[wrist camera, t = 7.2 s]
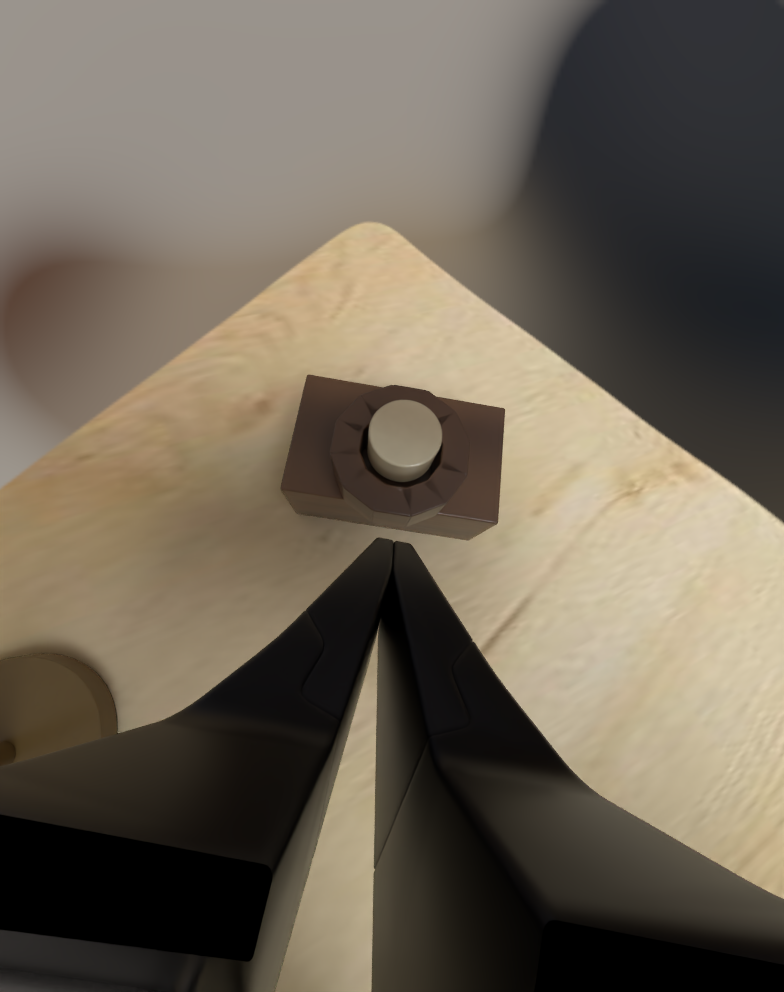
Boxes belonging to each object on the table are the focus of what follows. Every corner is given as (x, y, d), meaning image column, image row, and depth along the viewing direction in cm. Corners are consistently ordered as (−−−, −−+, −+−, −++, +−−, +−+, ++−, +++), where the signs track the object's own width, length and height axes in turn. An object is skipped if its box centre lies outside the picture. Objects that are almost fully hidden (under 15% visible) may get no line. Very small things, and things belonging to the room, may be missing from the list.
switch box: (467, 555, 22) (517, 533, 15) (293, 528, 21) (263, 493, 15) (476, 446, 24) (524, 383, 17) (316, 419, 23) (300, 344, 16)
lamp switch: (429, 487, 16) (438, 473, 14) (362, 476, 16) (363, 460, 14) (436, 426, 16) (446, 405, 15) (372, 415, 16) (374, 393, 15)
